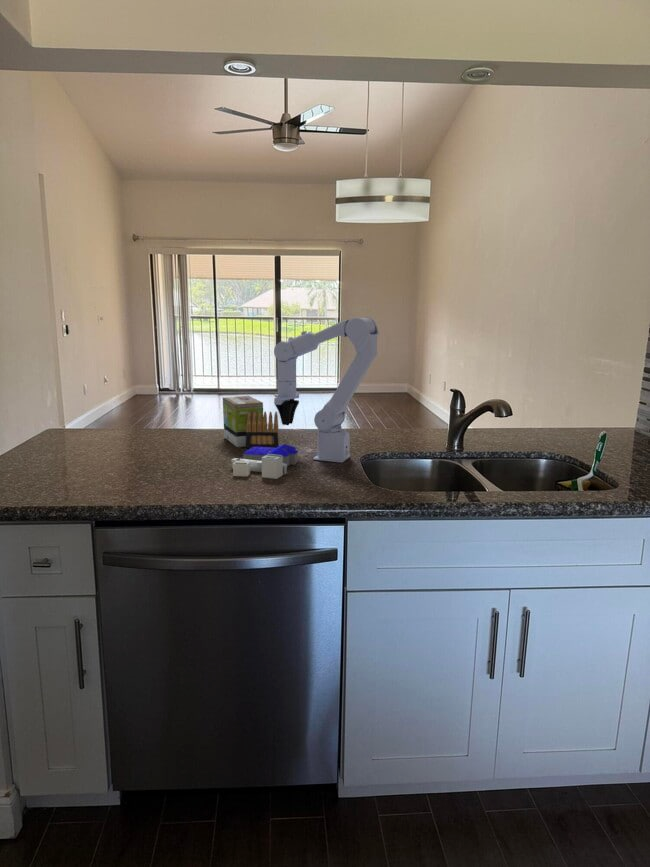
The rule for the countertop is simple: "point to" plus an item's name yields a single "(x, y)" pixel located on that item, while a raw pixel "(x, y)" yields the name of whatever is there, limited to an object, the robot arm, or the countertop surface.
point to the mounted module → (272, 466)
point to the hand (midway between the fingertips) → (287, 424)
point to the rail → (257, 465)
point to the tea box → (239, 417)
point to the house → (285, 450)
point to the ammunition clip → (262, 431)
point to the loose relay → (241, 468)
